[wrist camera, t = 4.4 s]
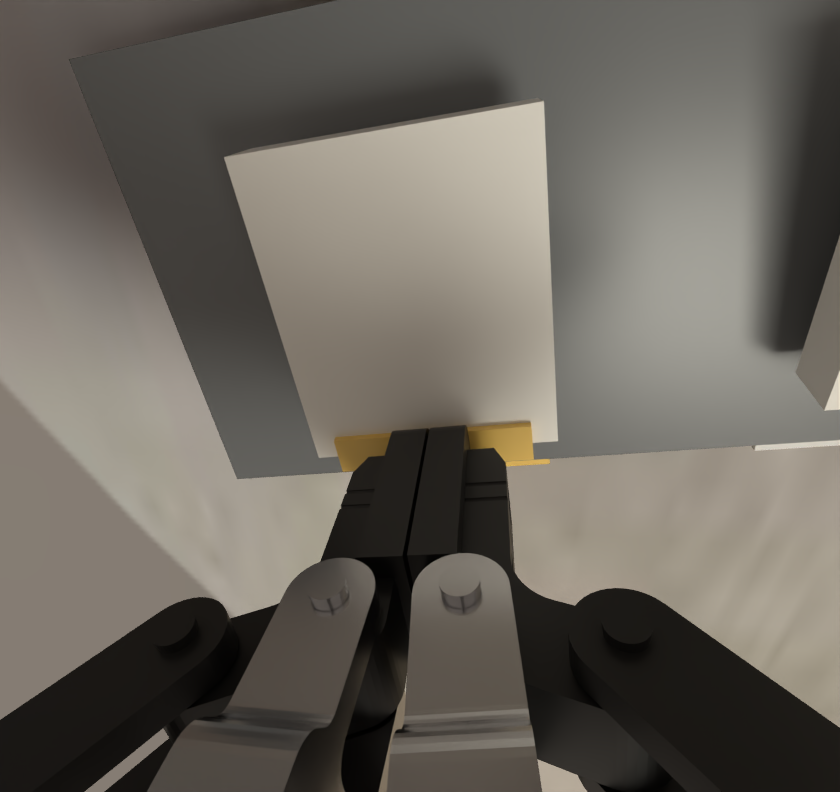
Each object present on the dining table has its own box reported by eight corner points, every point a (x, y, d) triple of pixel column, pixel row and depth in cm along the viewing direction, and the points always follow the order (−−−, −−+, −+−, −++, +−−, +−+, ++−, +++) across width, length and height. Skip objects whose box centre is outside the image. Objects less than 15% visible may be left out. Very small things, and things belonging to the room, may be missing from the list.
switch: (251, 148, 10) (219, 158, 8) (537, 97, 9) (545, 101, 8) (335, 437, 13) (320, 473, 12) (552, 420, 12) (559, 457, 11)
